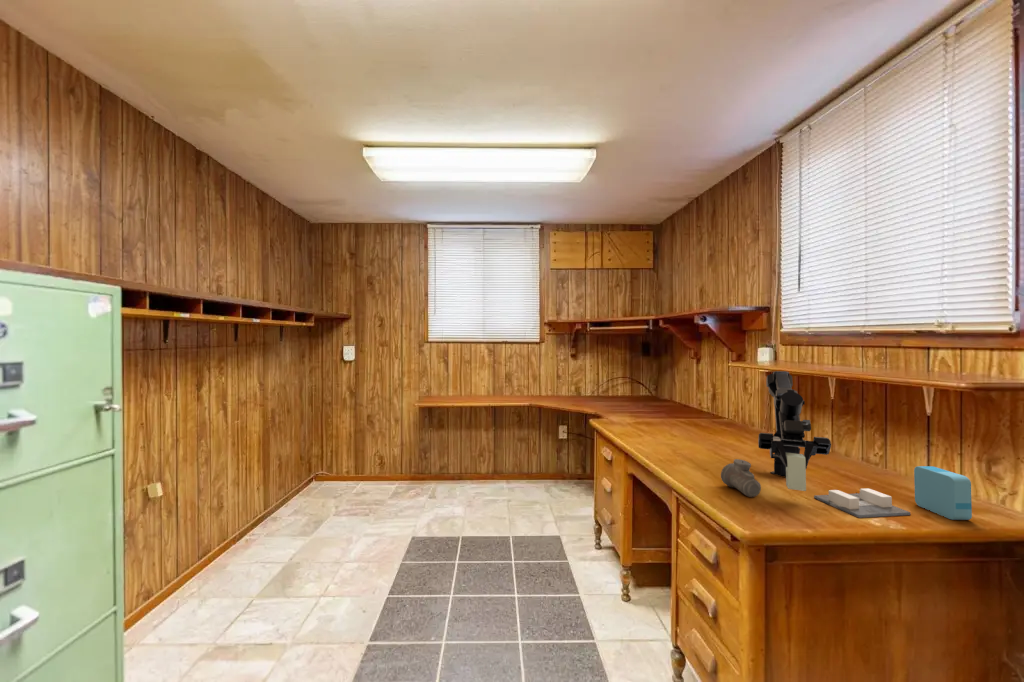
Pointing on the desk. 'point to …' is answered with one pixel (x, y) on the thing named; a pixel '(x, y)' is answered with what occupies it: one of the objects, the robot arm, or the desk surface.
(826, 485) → the desk surface
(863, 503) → the mounting plate
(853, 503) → the mounted modules
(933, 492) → the data package
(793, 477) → the block
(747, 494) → the pipe fitting
